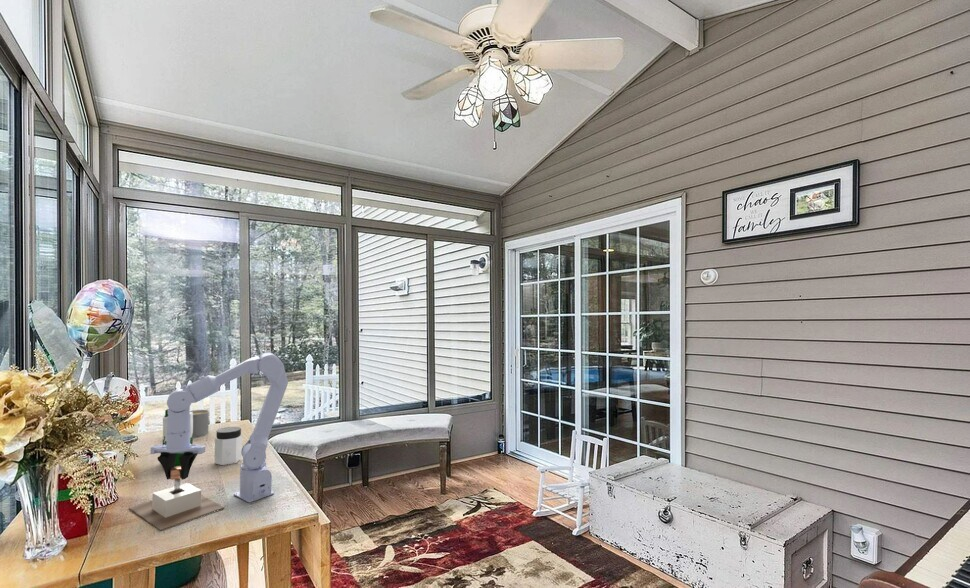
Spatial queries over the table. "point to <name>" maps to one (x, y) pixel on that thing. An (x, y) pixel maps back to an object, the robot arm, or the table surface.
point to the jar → (228, 445)
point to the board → (177, 519)
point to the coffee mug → (200, 422)
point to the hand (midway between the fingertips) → (177, 478)
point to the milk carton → (177, 462)
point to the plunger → (176, 478)
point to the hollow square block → (176, 500)
